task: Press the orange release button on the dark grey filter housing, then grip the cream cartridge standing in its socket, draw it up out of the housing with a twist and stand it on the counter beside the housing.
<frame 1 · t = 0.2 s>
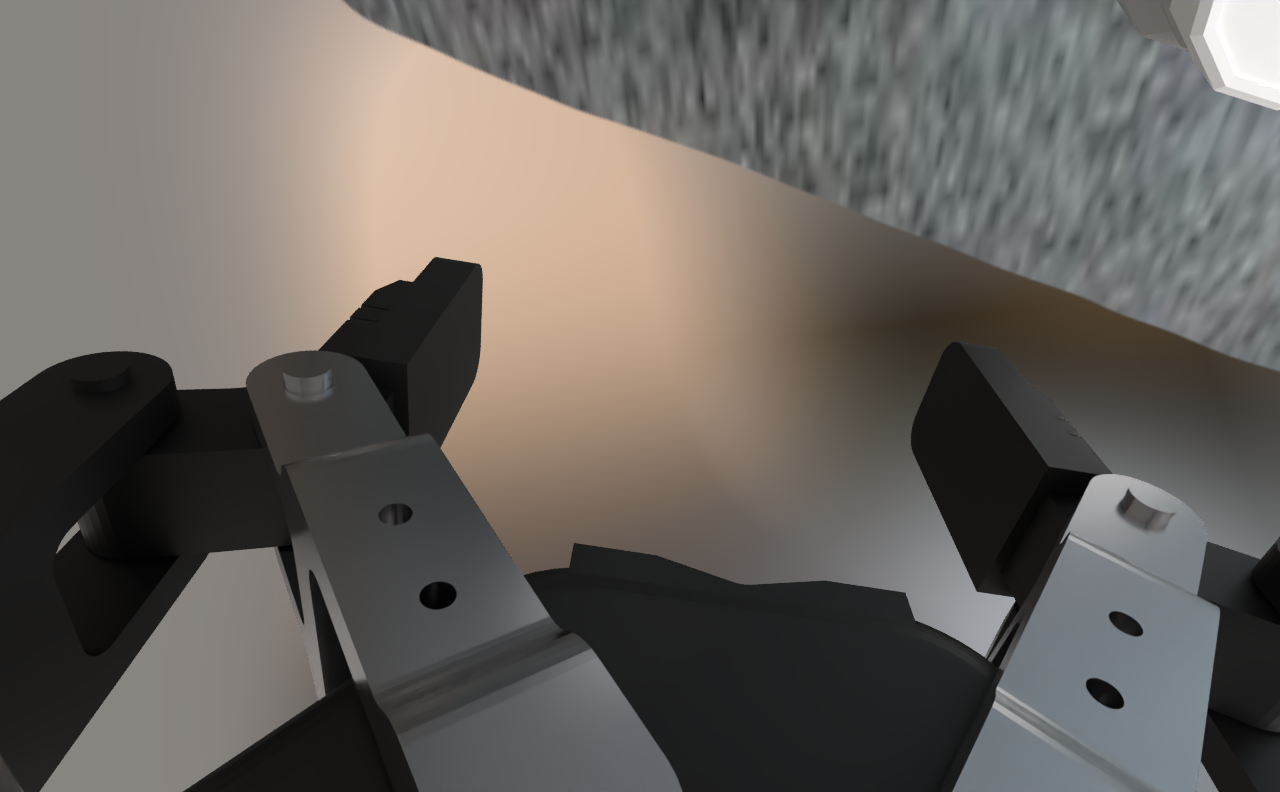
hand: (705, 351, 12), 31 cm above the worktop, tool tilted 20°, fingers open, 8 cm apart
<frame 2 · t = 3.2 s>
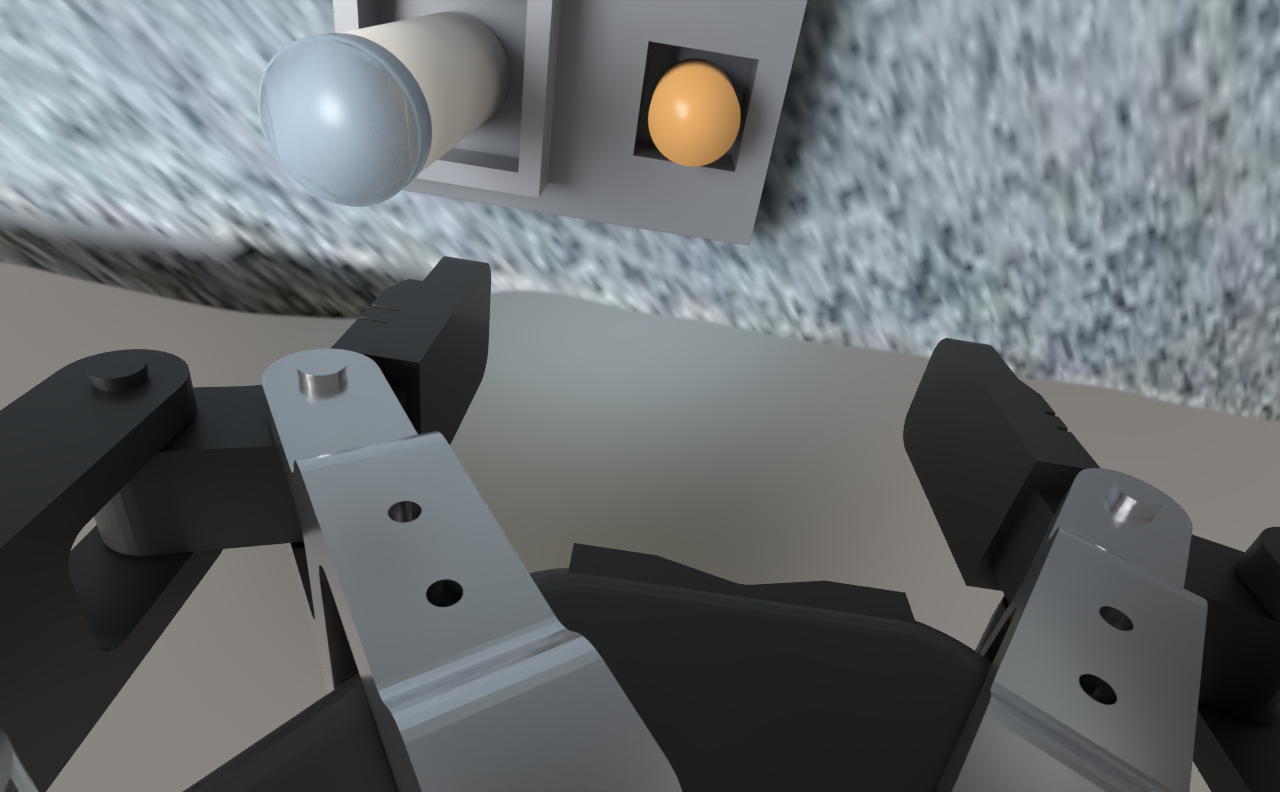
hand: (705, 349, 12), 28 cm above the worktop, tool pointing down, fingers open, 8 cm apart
cartridge: (458, 70, 32), point 4 cm above the worktop, touching housing
button: (693, 111, 32), point 5 cm above the worktop, slide at 0.0 cm
housing: (577, 76, 36), on the worktop
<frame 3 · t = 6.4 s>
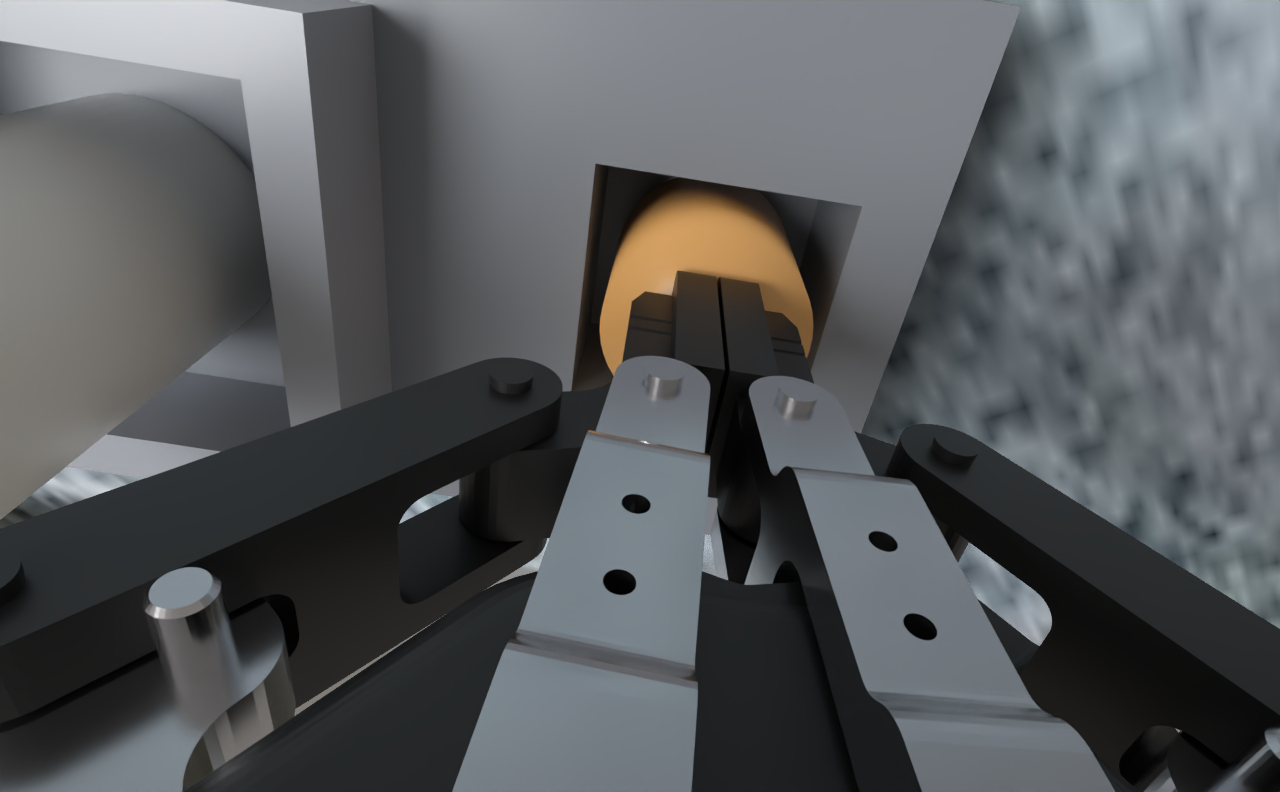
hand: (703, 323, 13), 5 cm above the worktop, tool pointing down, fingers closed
cartridge: (160, 222, 14), point 4 cm above the worktop, touching housing
button: (703, 292, 15), point 3 cm above the worktop, slide at 1.3 cm, touching gripper
housing: (464, 204, 18), on the worktop
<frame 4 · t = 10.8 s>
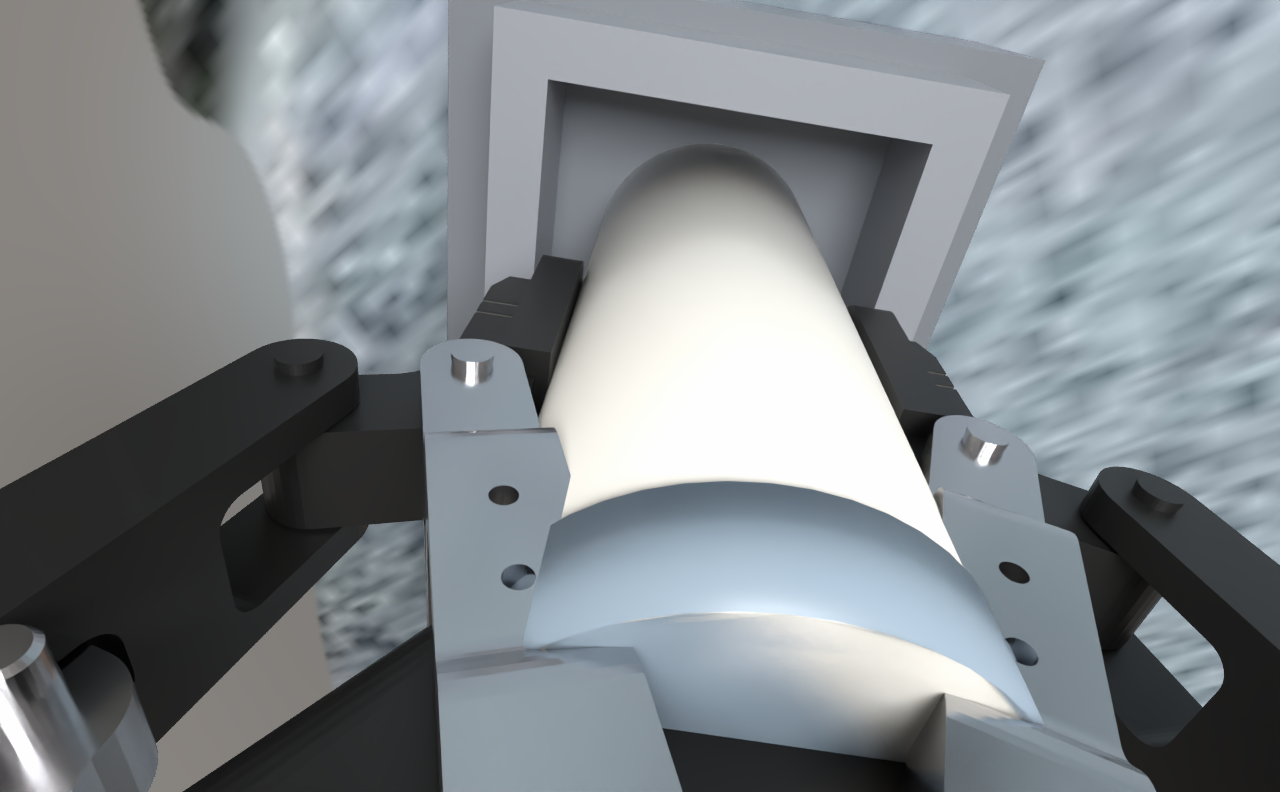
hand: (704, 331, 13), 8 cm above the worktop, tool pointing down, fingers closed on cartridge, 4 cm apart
cartridge: (701, 249, 17), point 4 cm above the worktop, touching gripper, housing
housing: (669, 353, 23), on the worktop
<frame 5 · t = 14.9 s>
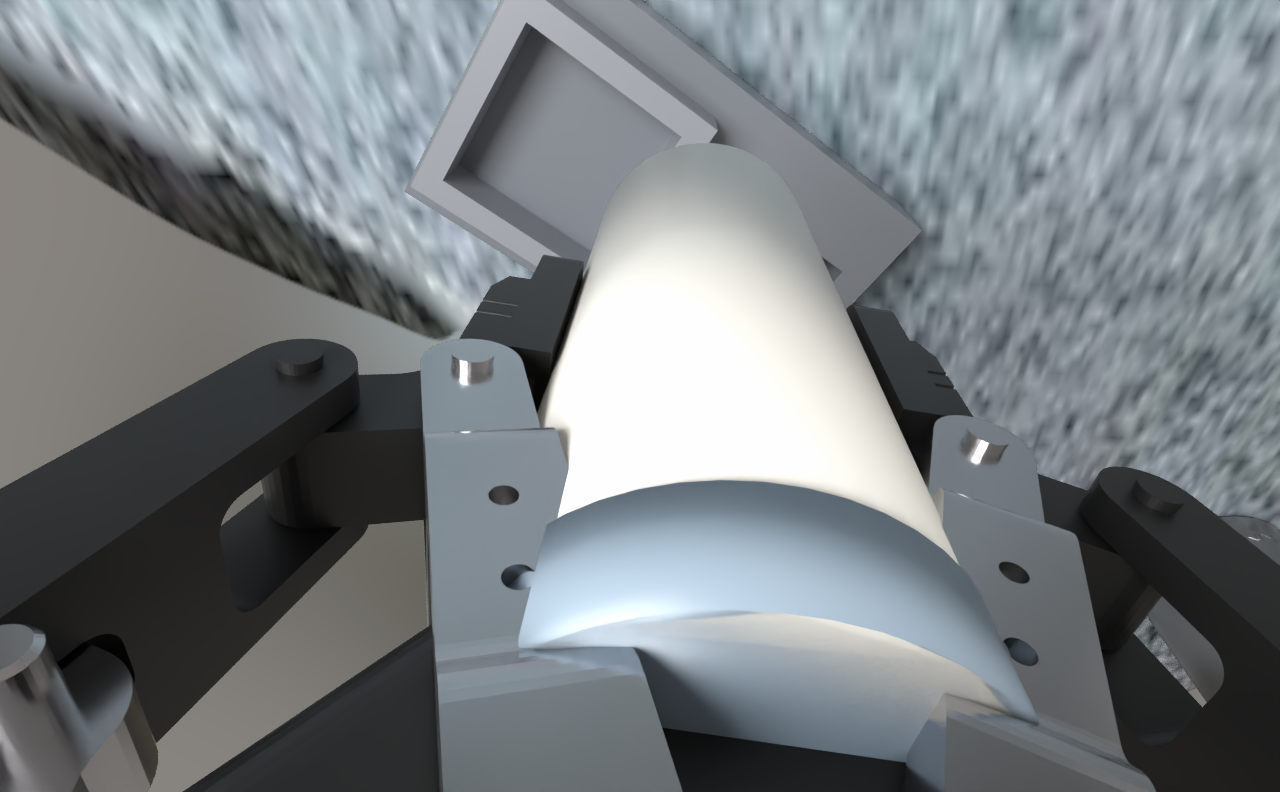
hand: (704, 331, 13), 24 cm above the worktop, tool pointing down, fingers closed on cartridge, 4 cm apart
cartridge: (700, 248, 17), point 19 cm above the worktop, touching gripper
housing: (664, 185, 35), on the worktop
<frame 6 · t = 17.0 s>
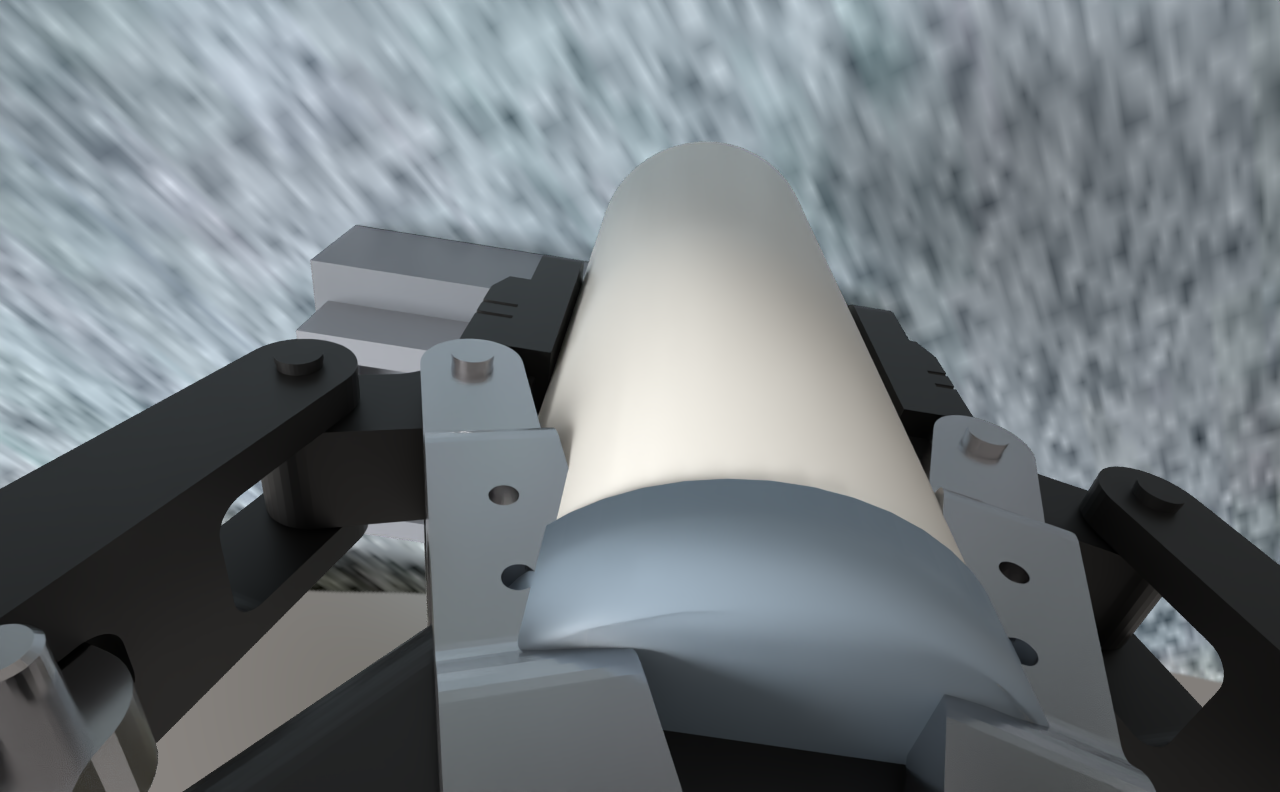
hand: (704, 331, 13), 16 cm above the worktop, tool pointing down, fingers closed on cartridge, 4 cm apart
cartridge: (702, 247, 17), point 11 cm above the worktop, touching gripper
housing: (583, 387, 32), on the worktop
when the fingers open (6 cm above the worktop, at t = 18.9 s): cartridge drops 1 cm, on the worktop.
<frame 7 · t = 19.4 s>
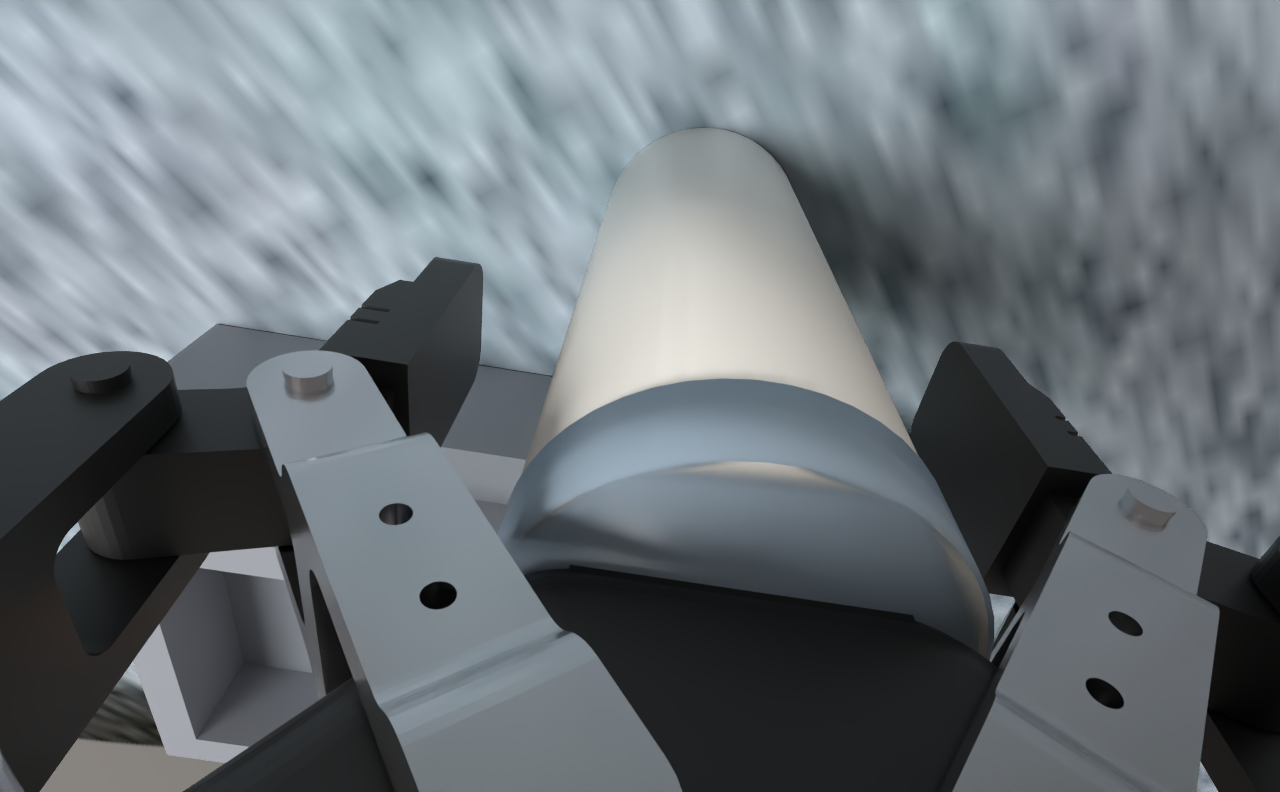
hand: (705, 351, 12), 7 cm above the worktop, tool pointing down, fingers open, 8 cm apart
cartridge: (700, 227, 18), on the worktop
housing: (548, 531, 24), on the worktop
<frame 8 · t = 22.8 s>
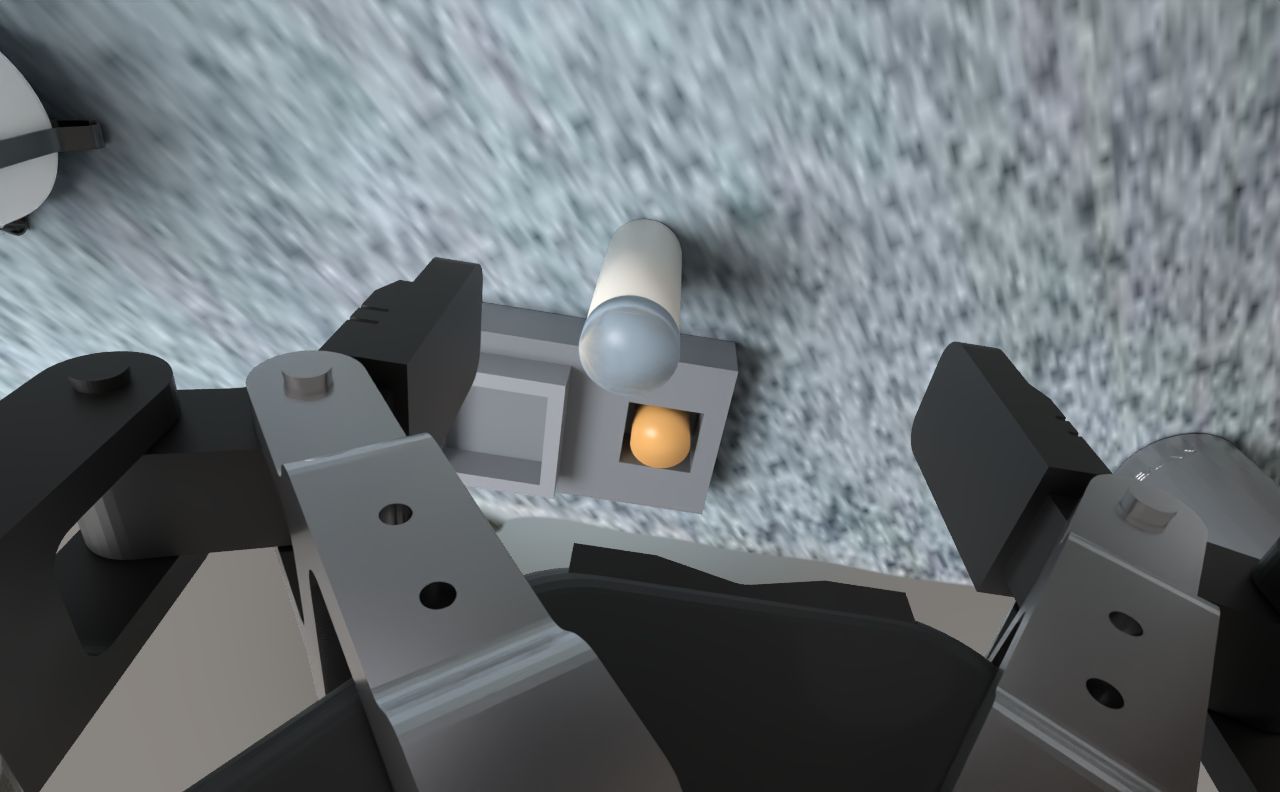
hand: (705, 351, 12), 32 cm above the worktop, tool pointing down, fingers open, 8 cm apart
cartridge: (644, 256, 45), on the worktop
button: (661, 427, 49), point 3 cm above the worktop, slide at 1.8 cm
housing: (579, 393, 51), on the worktop
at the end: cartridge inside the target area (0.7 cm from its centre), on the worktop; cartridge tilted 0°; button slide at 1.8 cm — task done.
